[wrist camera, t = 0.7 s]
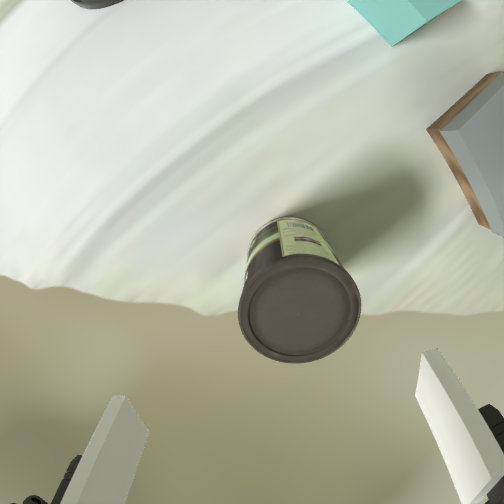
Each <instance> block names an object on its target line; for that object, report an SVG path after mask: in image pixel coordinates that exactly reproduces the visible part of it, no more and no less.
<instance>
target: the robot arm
mask: <svg viewBox="0 0 504 504" xmlns="http://www.w3.org/2000/svg"><path fill="white" fill-rule="evenodd" d="M71 1H72V2H74V3H75V4H77V5H78V6H80V7H82V8H86V9H100V8H105V7H108V6H111V5H114V4H116V3H118V2H121V1H123V0H71ZM415 397H416V399H417V401H418V403H419V405H420V407H421V409H422V411H423V413H424V416H425V418H426V420H427V422H428V424H429V426H430V429H431V431H432V433H433V435H434V437H435V439H436V442H437V444H438V446H439V449H440V451H441V453H442V456H443V458H444V460H445V463H446V465H447V468H448V470H449V472H450V475H451V477H452V480H453V482H454V485H455V488H456V490H457V493H458V495H459V498H460V501H461V503H462V504H476V503H478V502H480V501H481V500H482V499H483V498H484V497H485V496H486V495H487V497H488V499H489V500H488V501H487V502H486V503H485V504H504V418H503V416H502V415H501V413H500V412H499V411H498V410H497V409H496V408H494V407H493V406H492V405H490V404H488V405H486V406H484V407H482V408H480V409H477V407H476V405H475V404H474V402H473V400H472V399H471V397H470V396H469V394H468V393H467V391H466V390H465V388H464V387H463V385H462V383H461V382H460V380H459V379H458V377H457V376H456V374H455V373H454V371H453V370H452V368H451V367H450V365H449V364H448V363H447V361H446V360H445V358H444V357H443V355H442V354H441V352H440V351H439V350H438V348H436V349H433V350H430V351H426V352H424V353H422V357H421V364H420V371H419V377H418V383H417V389H416V394H415ZM148 435H149V430H148V429H147V428H146V426H145V425H144V423H143V422H142V420H141V419H140V417H139V416H138V414H137V413H136V411H135V410H134V408H133V407H132V405H131V403H130V402H129V400H128V399H127V397H126V396H113V397H112V398H111V400H110V402H109V404H108V406H107V408H106V410H105V412H104V414H103V416H102V418H101V420H100V422H99V424H98V425H97V427H96V429H95V431H94V434H93V436H92V437H91V440H90V442H89V443H88V446H87V448H86V450H85V452H84V454H83V456H81V455H77V457H75V458H74V459H73V460H72V461H71V463H70V465H69V467H68V469H67V473H65V475H64V477H63V478H64V479H63V480H62V481H61V483H60V486H59V488H58V490H57V492H56V494H55V496H54V498H53V500H52V502H51V504H125V502H126V500H127V496H128V493H129V490H130V487H131V484H132V481H133V478H134V475H135V473H136V470H137V467H138V464H139V461H140V458H141V455H142V452H143V449H144V446H145V443H146V441H147V438H148ZM12 504H16V503H12ZM23 504H48V503H47V502H45V501H44V500H43V499H42V498H40V497H39V496H36V495H32V496H29V497H27V498H26V499H25V500H24V502H23Z"/></svg>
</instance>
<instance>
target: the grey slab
mask: <svg viewBox="0 0 504 504" xmlns="http://www.w3.org/2000/svg"><path fill="white" fill-rule="evenodd" d="M440 133H441V134H442V136H443V138H444V139H445V141H446V142H447V144H448V146H449V147H450V149H451V151H452V152H453V154H454V156H455V158H456V159H457V161H458V163H459V165H460V166H461V168H462V170H463V172H464V174H465V175H466V177H467V179H468V181H469V183H470V185H471V187H472V189H473V191H474V193H475V195H476V197H477V199H478V201H479V203H480V205H481V208H482V210H483V212H484V214H485V216H486V219H487V221H488V223H489V226H490V228H491V231H492V232H493V233H495V234H497V235H499V236H501V237H503V238H504V72H501V73H500V74H499V75H498V76H497V77H496V78H495V79H494V80H493V81H492V82H491V83H490V84H489V85H488V86H486V87H485V88H484V89H483V90H482V91H481V92H480V93H479V94H478V95H477V96H476V97H475V98H474V99H473V100H472V101H471V102H470V103H469V104H468V105H467V106H466V107H465V108H464V109H463V110H462V111H461V112H459V113H458V114H457V115H456V116H455V117H454V118H453V119H452V120H451V121H450V122H449V123H448V124H447V125H446V126H445V127H444V128H442V129H441V130H440Z"/></svg>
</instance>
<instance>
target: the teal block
mask: <svg viewBox="0 0 504 504" xmlns="http://www.w3.org/2000/svg"><path fill="white" fill-rule="evenodd" d="M460 1H462V0H349V1H348V3H349V4H350V5H351V6H352V7H354V8H355V9H356V10H357V11H358V12H359V13H360V14H361V15H362V16H363V17H364V18H365V19H366V20H367V21H368V22H369V23H370V24H371V25H372V26H373V27H374V28H375V29H376V30H377V32H378V33H379V34H380V35H381V36H382V37H383V38H384V39H385V40H386V41H387V42H388V44H389V45H390V46H391V47H392V46H394V45H395V44H397V43H398V42H399V41H401V40H402V39H404V38H405V37H407V36H408V35H410V34H411V33H413V32H414V31H416V30H417V29H419V28H420V27H422V26H423V25H425V24H426V23H428V22H429V21H431V20H432V19H434V18H435V17H437V16H438V15H440V14H441V13H443V12H444V11H446V10H447V9H449V8H450V7H452V6H454V5H455V4H457V3H458V2H460Z"/></svg>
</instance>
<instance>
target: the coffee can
mask: <svg viewBox="0 0 504 504" xmlns="http://www.w3.org/2000/svg"><path fill="white" fill-rule="evenodd" d="M360 313H361V298H360V293H359V290H358V288H357V286H356V284H355V282H354V280H353V279H352V277H351V276H350V274H349V273H348V272H347V271H346V270H345V269H344V267H343V266H342V264H341V263H340V261H339V259H338V258H337V256H336V255H335V253H334V251H333V250H332V249H331V247H330V245H329V244H328V242H327V240H326V238H325V236H324V235H323V233H322V232H321V231H320V230H319V229H318V228H317V227H316V226H315V225H314V224H312V223H311V222H308V221H306V220H304V219H300V218H295V217H284V218H278V219H275V220H273V221H270V222H268V223H267V224H265V225H264V226H263V227H261V228H260V229H259V230H258V231H257V232H256V234H255V235H254V236H253V238H252V240H251V242H250V245H249V248H248V254H247V266H246V273H245V279H244V285H243V291H242V295H241V298H240V301H239V307H238V320H239V325H240V328H241V331H242V333H243V335H244V337H245V339H246V340H247V341H248V343H249V344H250V345H251V346H252V347H253V348H254V349H255V350H257V351H258V352H259V353H261V354H263V355H264V356H266V357H268V358H270V359H273V360H276V361H280V362H284V363H306V362H312V361H315V360H318V359H321V358H324V357H326V356H328V355H330V354H331V353H333V352H335V351H336V350H337V349H339V348H340V347H341V346H342V345H343V344H344V343H345V342H346V341H347V340H348V339H349V338H350V336H351V335H352V334H353V332H354V330H355V328H356V326H357V324H358V321H359V318H360Z"/></svg>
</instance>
